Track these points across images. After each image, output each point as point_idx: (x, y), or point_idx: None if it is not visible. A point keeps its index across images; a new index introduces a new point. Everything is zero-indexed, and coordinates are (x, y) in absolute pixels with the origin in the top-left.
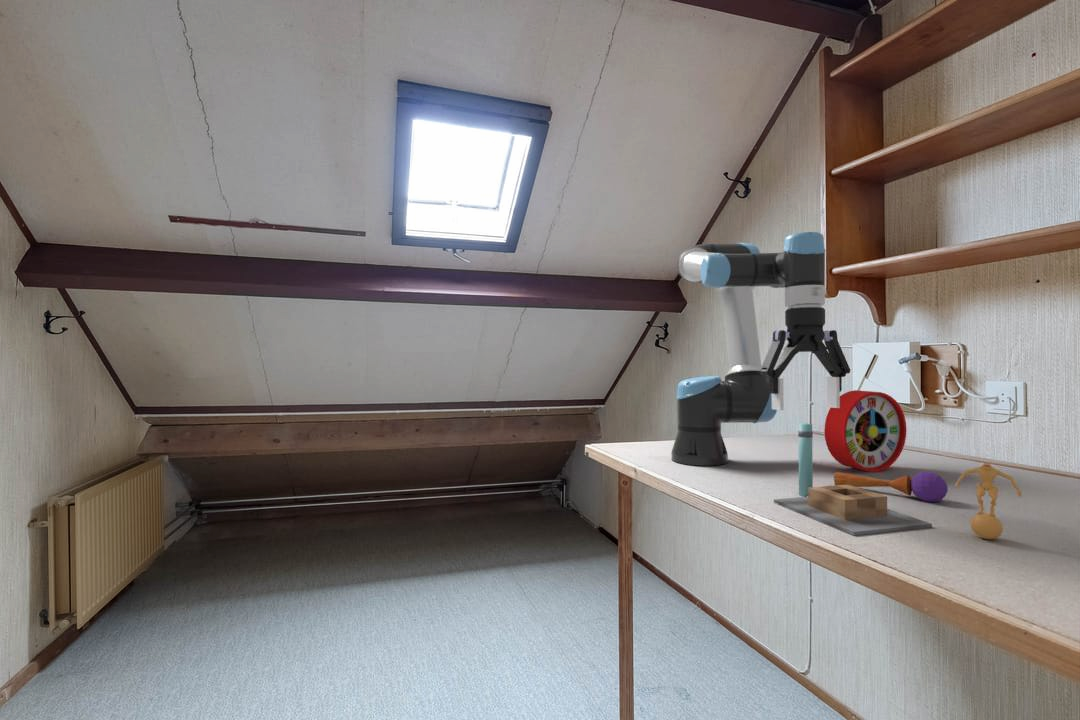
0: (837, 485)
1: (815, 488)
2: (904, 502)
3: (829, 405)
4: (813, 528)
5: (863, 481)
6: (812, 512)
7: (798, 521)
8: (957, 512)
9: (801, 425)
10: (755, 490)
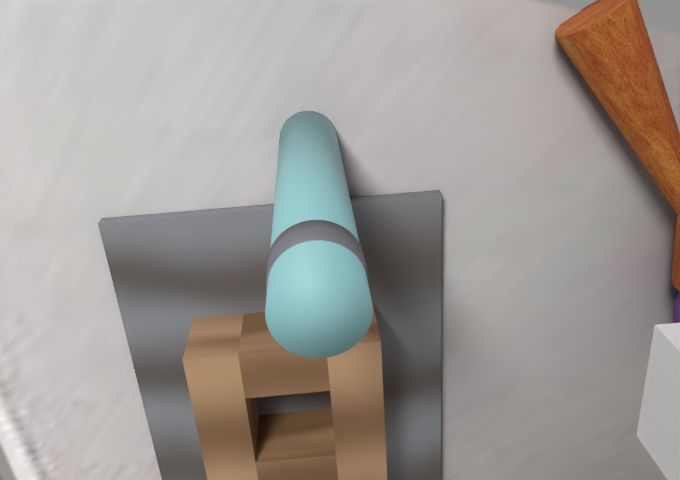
0: None
1: (204, 375)
2: (602, 296)
3: (658, 369)
4: (98, 467)
5: (631, 140)
6: (161, 384)
7: (85, 413)
8: None
9: (269, 326)
10: (108, 10)
